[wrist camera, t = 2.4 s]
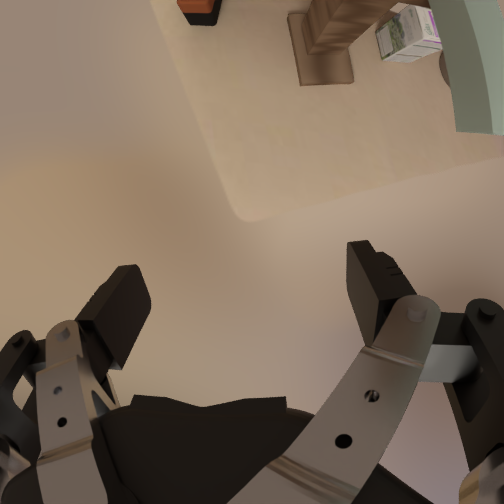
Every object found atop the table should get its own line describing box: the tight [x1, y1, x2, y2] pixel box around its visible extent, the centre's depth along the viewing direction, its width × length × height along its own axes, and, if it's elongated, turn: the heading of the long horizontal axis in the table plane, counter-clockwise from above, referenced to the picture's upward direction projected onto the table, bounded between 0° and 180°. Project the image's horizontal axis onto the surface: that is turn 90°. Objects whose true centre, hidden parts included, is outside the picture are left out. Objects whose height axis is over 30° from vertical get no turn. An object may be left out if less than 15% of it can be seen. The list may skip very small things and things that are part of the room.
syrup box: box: [375, 4, 443, 63], centre depth 29 cm, size 6×6×14 cm
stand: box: [287, 0, 431, 86], centre depth 22 cm, size 8×12×32 cm, turn 8°
